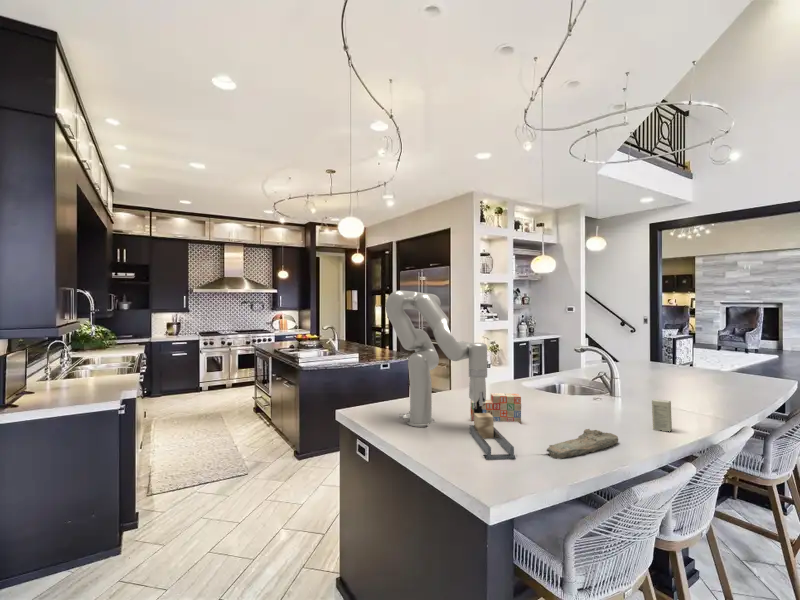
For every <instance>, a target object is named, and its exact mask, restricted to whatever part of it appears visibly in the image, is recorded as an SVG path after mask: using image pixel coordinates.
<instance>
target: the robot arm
mask: <svg viewBox="0 0 800 600" xmlns="http://www.w3.org/2000/svg"><path fill="white" fill-rule="evenodd" d="M441 304H442V303H441V299H440V297H439V296H438V295H436V294H434V293H426V292H419V291H412V290H396V291H392V292H391V293H390V294H389V295H388V296H387V299H386V302H385V312H386V316H387V317H388V319H389V321H390V323H391V325H392V327H393V329H394V331H395V334H396V336H397V338H398V341H399V343H400V344H401V346H402V348H403V350H407V351H414V353H412V354H411V355H409V358H408V361H407V365H408V366H407V368H408V372H409V373H408V374H409V411H408V412H407V413H399V419H402V420H406V424H407V425H409V426H410V427H411V426H412V427H417V428H418V427H419V428H427V427H429V426H428V425H433V424H434V423H436V420H435V419H434V418H433V417H432V416H433V415H432V414H433V413H432V411H433V410H432V409H433V408H432V405H433V404H432V403H433V400H432V399H433V398H432V397H433V395H432V393H433V392H432V388H433V387H432V377H431V371H432V370H434V369H436V368H437V367H438V365H439V362H440V358H439V357H440V356H439V354H438V352H437V350H436V348H435V346H434V344H433V342H432V340H431V338H430V336H429V334H428V332H426V331H425V330H424V329H422V328H416V327H415V326H414V324H413V322H412V320H411V318H410V316H409V315H408V313H406V311H405V310H415V311H418V312H419V314H420V315H421V317H423V319H424V321H425V322H426V323H427V325H428V326H429V328H430V329H431V331H432V334H433V338H434V339H435V341H436V343H437V346H438V347H439V349H440V350H441V351H442V352H443V354H444V356H446V358H448V360H451V361H453V362H459V361H463V360H468V377H469V387H468V398H469V399H470V401H471V400H472V401H473V402H474V413H483V409H482V408H483V402H485V401H486V400H487V385H486V384H487V382H486V378H488V346H487V344H486V343H484V342H469V341H463V340H462V341H457V340H456V338H455V337H454V336H453V334H452V332H451V331H450V328H449V317H448V316H447V314H446V313H445V312H444V311H443V310H442V308H441Z"/></svg>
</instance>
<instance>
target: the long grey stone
mask: <svg viewBox="0 0 800 600" xmlns="http://www.w3.org/2000/svg"><path fill="white" fill-rule="evenodd" d="M618 442H619V438H618V436H617V435H616V434H613V433H610V432H603V431H602V430H601V431H600V430H597V429H594V430H593V429H590V428H585V429H584V431H583V433H582V434H580V435H579V436H578V437H577V438H574V439H568V440H565V441H561V442H559V443H558V442H557V443H554V444H549V445H548V448H546V452H548V453H547V455H548V456H549V457H550V456H551V457H550V458H552V457H553V458H552V459H557V458H562V459H564V458H571V457H577V456H581V455H584V454H583V453H587V454H590V453H589V452H591V453H594V452H596V451H600V450H605V449H607V448H609V447H610V446H611V447H613V446H614V445H616V444H618ZM612 445H613V446H612ZM611 447H610V448H611ZM604 448H605V449H604Z"/></svg>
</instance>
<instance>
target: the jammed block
mask: <svg viewBox="0 0 800 600" xmlns="http://www.w3.org/2000/svg"><path fill="white" fill-rule="evenodd" d="M473 423H474V424H473V425H474V427H475V429H476V430H477V431H478V432H479V433H480V435H481V436H482V437H483V438H484V439H495V438H494V427H495V426H494V421H493V416H492V415H491V414H490V413H474V421H473Z"/></svg>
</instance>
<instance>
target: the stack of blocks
mask: <svg viewBox="0 0 800 600" xmlns="http://www.w3.org/2000/svg"><path fill="white" fill-rule="evenodd" d="M482 409H483V413H490V414H491V415H492V416H493V422H508V423H509V422H514V423H518V424H520V425H522V397H521V395H520V394H519V393H507V392H504V393H503V392H502V393H499V392H498V393H495V392H494V393H493V392H492V393H490V399H486V401H485V402H483V408H482ZM470 422H474V402H473V401H472V400H471V399H470Z"/></svg>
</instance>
